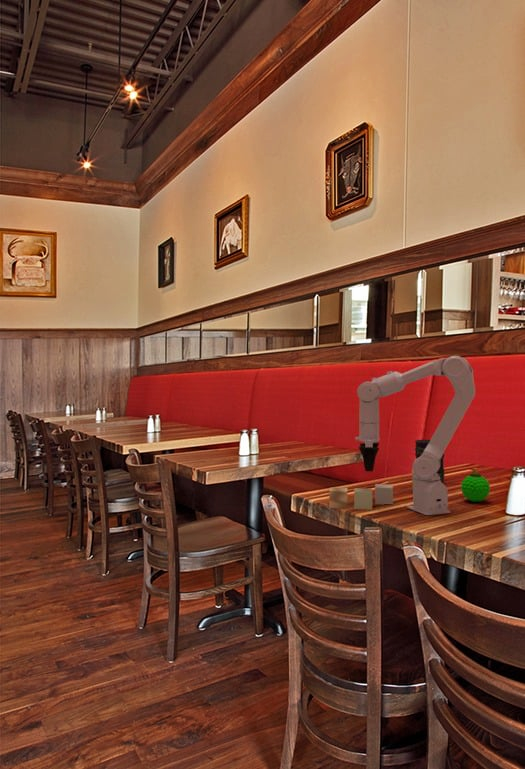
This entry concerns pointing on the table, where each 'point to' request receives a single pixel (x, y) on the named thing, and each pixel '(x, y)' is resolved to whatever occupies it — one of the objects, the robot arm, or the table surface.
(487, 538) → the table surface
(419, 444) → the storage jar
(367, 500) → the sage block
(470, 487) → the ornament
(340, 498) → the birch block
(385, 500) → the white cube
